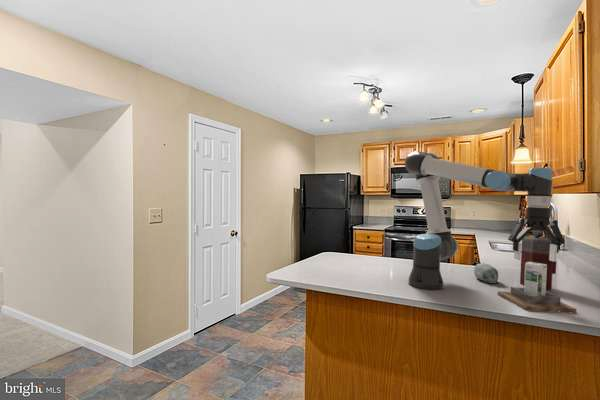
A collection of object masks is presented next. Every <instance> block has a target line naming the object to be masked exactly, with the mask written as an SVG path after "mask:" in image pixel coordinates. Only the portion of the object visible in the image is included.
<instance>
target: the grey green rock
mask: <svg viewBox="0 0 600 400" xmlns="http://www.w3.org/2000/svg"><path fill="white" fill-rule="evenodd" d="M473 273H474V276H475V278H477V279H479V280H481V281H482V282H485V283H489V284H496V283H497V282H498V280H499V271H498V270H497V268H495V267H494V266H492V265H491V264H488V263H477V264H475V266H474V268H473Z"/></svg>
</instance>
